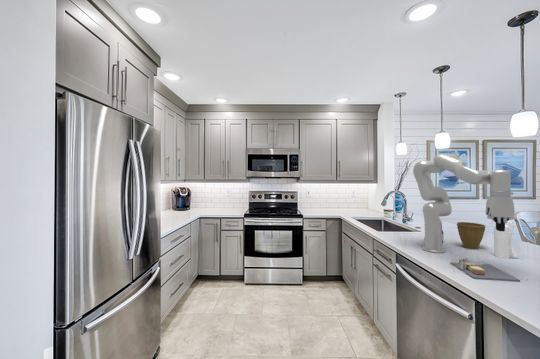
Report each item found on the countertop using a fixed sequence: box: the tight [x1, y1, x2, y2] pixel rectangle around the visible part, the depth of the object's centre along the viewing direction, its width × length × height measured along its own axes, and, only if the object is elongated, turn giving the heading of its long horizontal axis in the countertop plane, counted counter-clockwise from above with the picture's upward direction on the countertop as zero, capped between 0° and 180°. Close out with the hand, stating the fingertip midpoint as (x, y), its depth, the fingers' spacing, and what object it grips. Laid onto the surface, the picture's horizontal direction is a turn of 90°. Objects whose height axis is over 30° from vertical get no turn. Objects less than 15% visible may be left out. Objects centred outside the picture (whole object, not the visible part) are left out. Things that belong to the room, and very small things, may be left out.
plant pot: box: [456, 221, 486, 250], centre depth 159 cm, size 15×15×16 cm
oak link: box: [458, 257, 485, 275], centre depth 121 cm, size 15×4×3 cm, turn 166°
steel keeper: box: [460, 261, 484, 270], centre depth 121 cm, size 2×9×4 cm, turn 78°
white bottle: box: [489, 219, 519, 259], centre depth 140 cm, size 7×12×25 cm, turn 58°
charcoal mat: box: [450, 261, 521, 283], centre depth 120 cm, size 20×18×1 cm
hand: (500, 230), depth 119 cm, fingers closed
